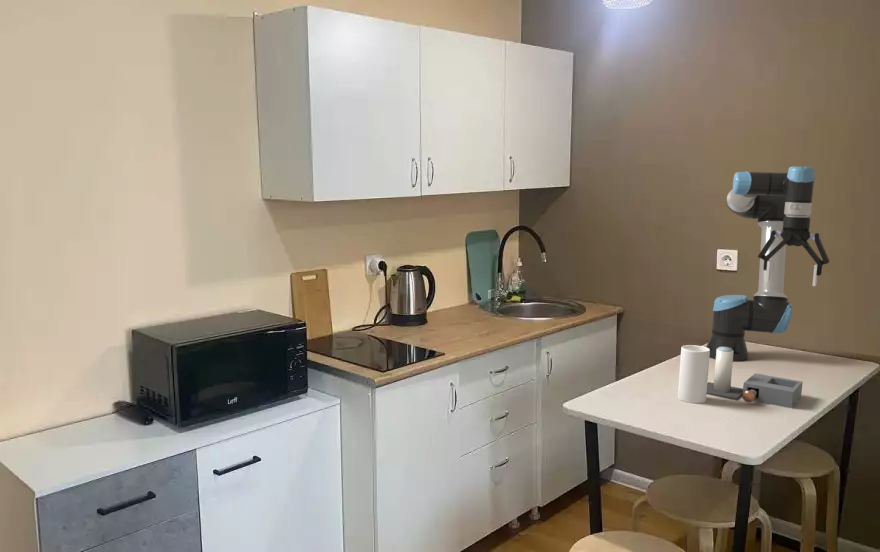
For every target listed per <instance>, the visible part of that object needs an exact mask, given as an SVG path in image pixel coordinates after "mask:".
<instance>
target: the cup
mask: <svg viewBox="0 0 880 552" xmlns="http://www.w3.org/2000/svg"><path fill="white" fill-rule="evenodd" d="M709 356H710V349H709V348H706V346H702V345H695V344H686V345H682V346H681V350H680V359H679V360H680V361H679V372H678V373H679V374H678V389H677V391H678V392H677V399H679V401H682V402H685V403H689V404H703V403H706V402H707V395H708V394H707V383H708V381H709V379H708V378H709V367H710V357H709Z"/></svg>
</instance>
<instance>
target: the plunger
mask: <svg viewBox="0 0 880 552" xmlns="http://www.w3.org/2000/svg"><path fill="white" fill-rule="evenodd" d="M758 393H759V389H757V388H752V389H751V390H747V391H745V392H744V393H743V395H742V396H741V397H743V399H742V400H743V401H744V402H746V403H752V402H755V401H754V400H755V398H756V395H757V394H758Z"/></svg>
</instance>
